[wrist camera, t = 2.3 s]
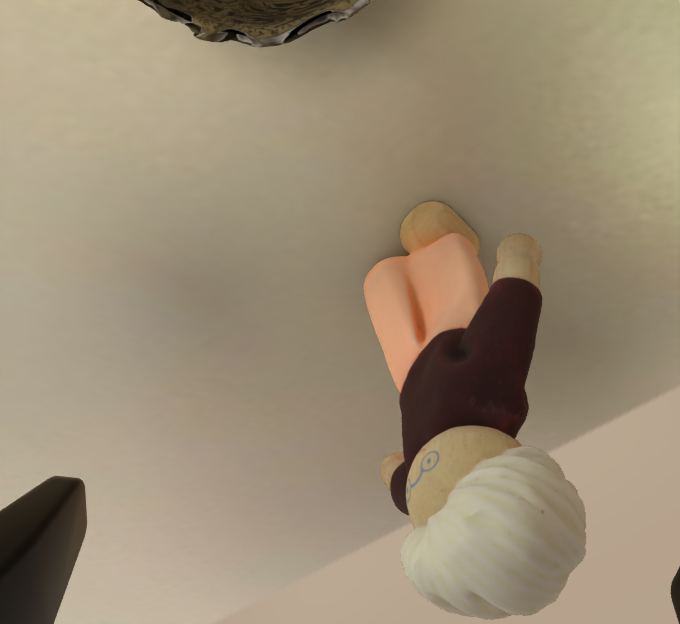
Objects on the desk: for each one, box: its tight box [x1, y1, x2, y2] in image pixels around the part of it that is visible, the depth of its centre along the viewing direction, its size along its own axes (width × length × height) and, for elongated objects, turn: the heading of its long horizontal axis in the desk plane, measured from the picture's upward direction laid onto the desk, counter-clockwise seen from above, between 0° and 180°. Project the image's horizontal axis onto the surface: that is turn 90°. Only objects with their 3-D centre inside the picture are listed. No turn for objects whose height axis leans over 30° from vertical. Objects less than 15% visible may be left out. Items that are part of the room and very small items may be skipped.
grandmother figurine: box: [364, 201, 586, 619], centre depth 15 cm, size 8×4×13 cm, turn 169°
